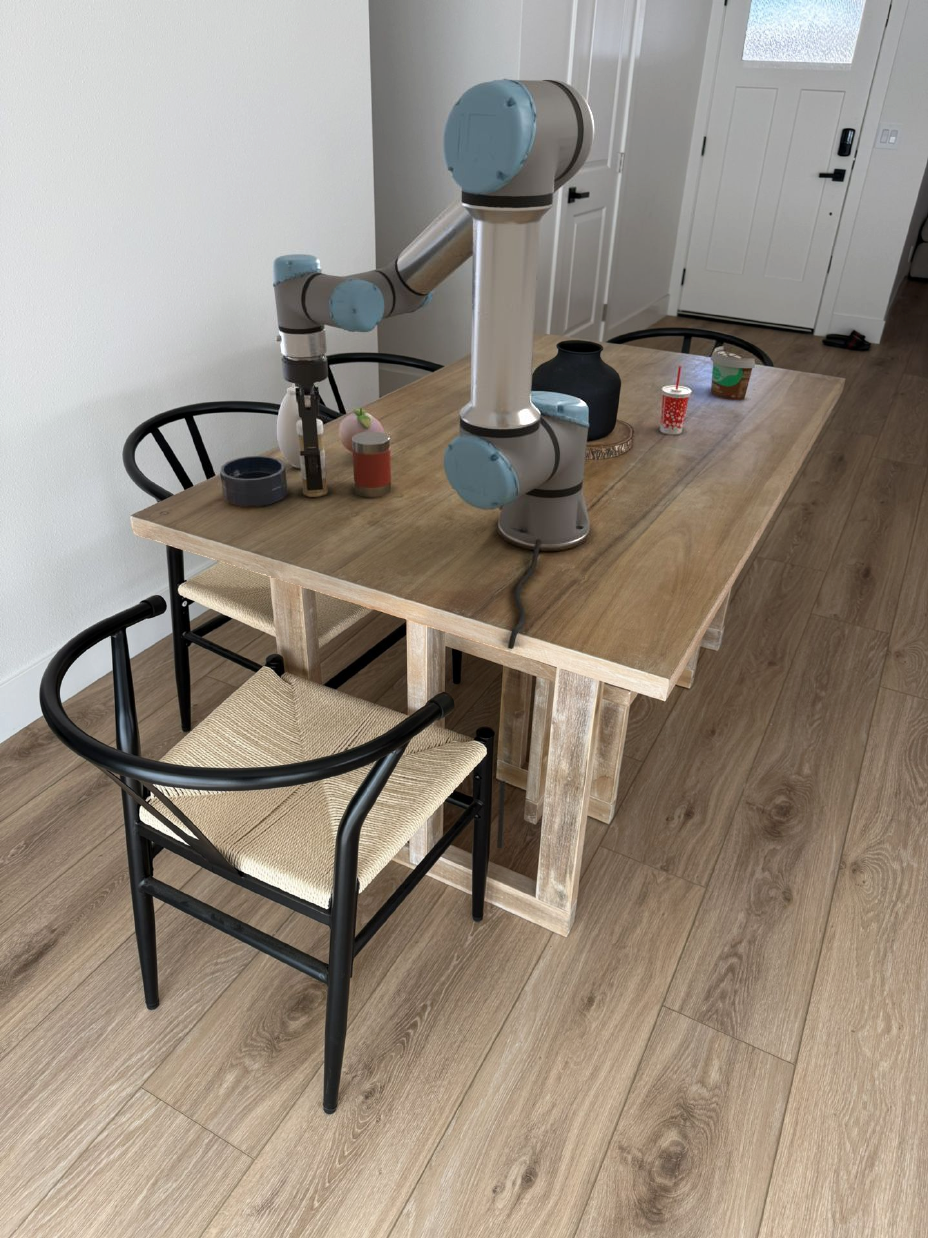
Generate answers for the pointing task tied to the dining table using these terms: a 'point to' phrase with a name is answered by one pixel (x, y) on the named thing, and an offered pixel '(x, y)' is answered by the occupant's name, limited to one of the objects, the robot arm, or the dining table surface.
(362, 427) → the decorative fruit
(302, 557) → the dining table surface
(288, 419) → the sauce bottle
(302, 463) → the sprinkles bottle
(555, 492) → the robot arm
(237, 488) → the bowl
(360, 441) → the tin can
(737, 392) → the food container
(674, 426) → the beverage cup
